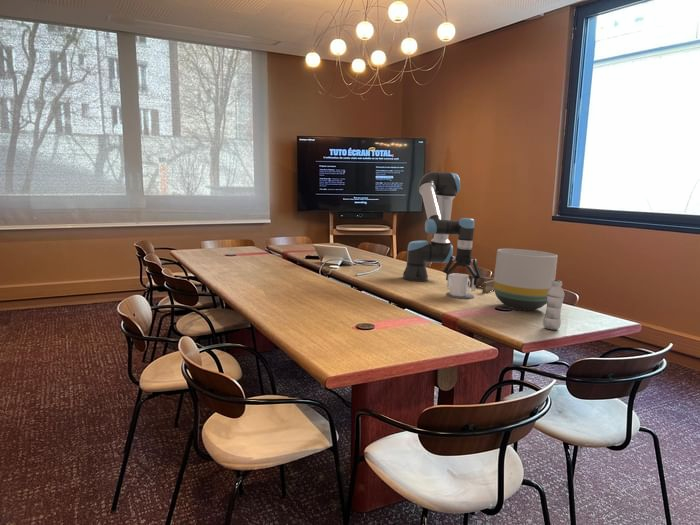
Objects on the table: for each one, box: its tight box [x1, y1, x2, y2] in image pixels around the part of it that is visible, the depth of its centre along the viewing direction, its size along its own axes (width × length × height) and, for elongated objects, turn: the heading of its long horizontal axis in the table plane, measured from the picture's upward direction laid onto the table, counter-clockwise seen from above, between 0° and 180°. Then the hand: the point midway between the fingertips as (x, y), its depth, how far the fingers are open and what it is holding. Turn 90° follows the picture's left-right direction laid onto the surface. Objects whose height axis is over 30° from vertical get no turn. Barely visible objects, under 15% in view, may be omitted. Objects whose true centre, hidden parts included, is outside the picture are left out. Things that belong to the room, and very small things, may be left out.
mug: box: [449, 272, 471, 297], centre depth 244 cm, size 9×12×11 cm
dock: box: [467, 274, 494, 294], centre depth 266 cm, size 18×18×6 cm
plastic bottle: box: [542, 279, 566, 331], centre depth 189 cm, size 6×7×20 cm
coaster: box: [446, 291, 475, 300], centre depth 245 cm, size 14×14×1 cm
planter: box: [493, 248, 558, 311], centre depth 223 cm, size 27×27×27 cm
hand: (460, 288), depth 245 cm, fingers open, 13 cm apart
